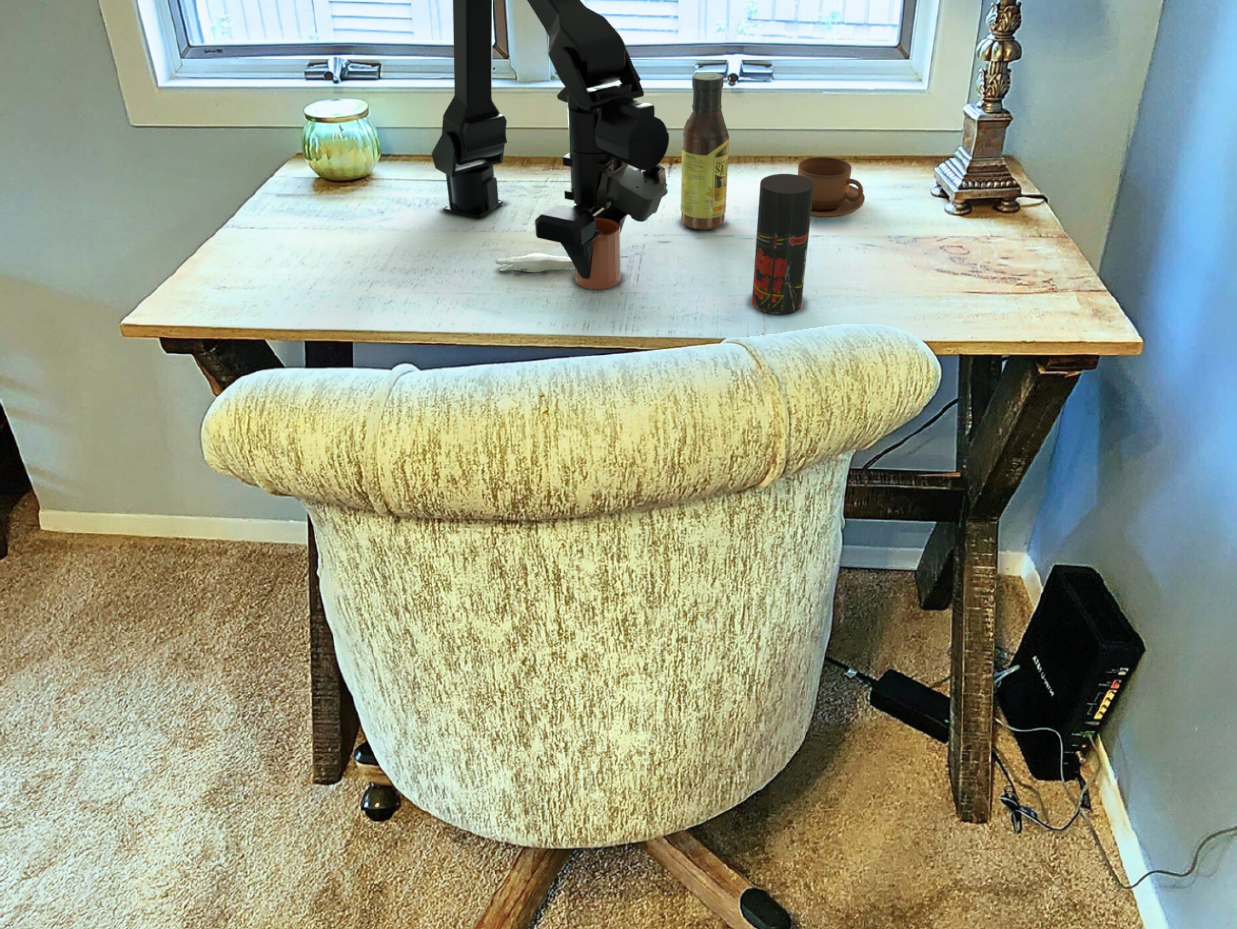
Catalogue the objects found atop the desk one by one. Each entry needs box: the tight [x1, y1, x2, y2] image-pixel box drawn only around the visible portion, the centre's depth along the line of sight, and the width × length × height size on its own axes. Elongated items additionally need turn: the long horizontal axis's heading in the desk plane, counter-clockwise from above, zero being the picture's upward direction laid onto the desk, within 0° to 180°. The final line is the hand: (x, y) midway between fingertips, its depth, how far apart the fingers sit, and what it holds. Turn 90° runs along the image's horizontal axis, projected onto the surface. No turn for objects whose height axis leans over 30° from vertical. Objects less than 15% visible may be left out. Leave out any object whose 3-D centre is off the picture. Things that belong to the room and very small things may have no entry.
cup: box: [574, 218, 622, 290], centre depth 127 cm, size 6×6×7 cm
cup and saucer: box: [797, 156, 866, 219], centre depth 145 cm, size 12×12×6 cm
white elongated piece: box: [494, 252, 575, 273], centre depth 131 cm, size 15×3×2 cm, turn 92°
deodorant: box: [751, 173, 814, 316], centre depth 119 cm, size 6×6×15 cm
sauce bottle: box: [680, 71, 730, 230], centre depth 137 cm, size 7×6×20 cm
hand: (597, 268), depth 128 cm, fingers closed on cup, 6 cm apart
